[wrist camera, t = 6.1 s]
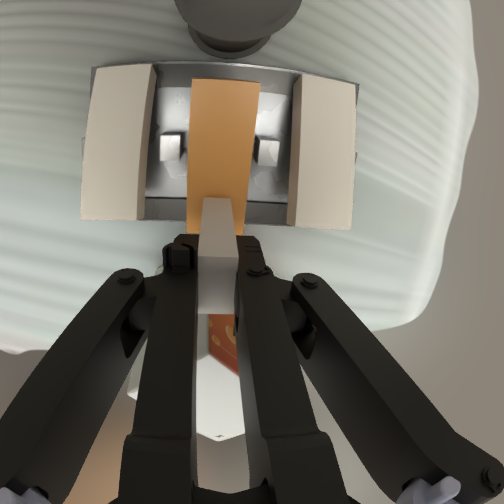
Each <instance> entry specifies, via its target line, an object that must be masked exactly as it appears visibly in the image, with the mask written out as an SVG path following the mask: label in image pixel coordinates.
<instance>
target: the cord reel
mask: <svg viewBox="0 0 504 504" xmlns="http://www.w3.org/2000/svg"><path fill="white" fill-rule="evenodd" d="M301 1H302V0H175V3H176V6H177V8H178V10H179V12H180V14H181V16H182V17H183V19H184V20H185V21H186V22H187V23H188V28H189V32H190V35H191V37H192V39H193V41H194V42H195V43H196V45H197V46H198V47H199V48H200V49H201V50H203V51H204V52H206V53H208V54H210V55H212V56H215V57H218V58H223V59H237V58H242V57H246V56H248V55H251V54H253V53H255V52H256V51H258V50H259V49H260V48H261V47H263V45H264V44H265V43H266V42H267V41H268V40H269V38H270V36H271V35H272V34H273V33H275V32H277V31H278V30H280V29H281V28H283V27H284V26H285V25H286V24H287V23H288V22H289V21H290V20H291V19H292V18H293V17H294V15H295V14H296V13H297V11H298V9H299V7H300V4H301Z"/></svg>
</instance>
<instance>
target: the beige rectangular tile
mask: <svg viewBox="0 0 504 504" xmlns="http://www.w3.org/2000/svg"><path fill="white" fill-rule="evenodd" d="M355 143H356V94H355V85H354V84H350V83H346V82H341V81H337V80H333V79H328V78H323V77H318V76H313V75H308V74H302V75H301V76H300V77H299V78H298V80H297V81H296V82H295V83H294V85H293V110H292V134H291V155H290V173H289V191H288V207H287V222H286V224H289V225H292V226H295V227H308V228H324V229H340V230H351V220H352V207H353V192H354V173H355Z"/></svg>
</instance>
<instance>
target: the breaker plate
mask: <svg viewBox="0 0 504 504" xmlns="http://www.w3.org/2000/svg"><path fill="white" fill-rule="evenodd" d="M136 64H152V66H153V68H154V71H155V73H156V75H157V78H156V85H155V92H154V99H153V107H152V115H151V124H150V133H149V144H148V156H147V169H146V186H145V210H144V218H143V219H140V220H139V221H178V222H187V162H188V137H189V118H190V101H191V87H192V79H193V78H195V77H203V78H224V79H238V80H249V81H257V82H259V83H261V86H260V94H259V102H258V110H257V118H256V126H255V135H254V143H253V151H252V160H251V168H250V177H249V185H248V194H247V203H246V211H245V220H244V224H255V225H275V226H292V225H289V224H286V222H287V207H288V191H289V173H290V155H291V134H292V110H293V85H294V83H295V82H296V81H297V80H298V78H299V77H300V76H301V75H302V74H308V75H313V76H318V77H323V78H328V79H333V80H337V81H341V82H346V83H350V84H354V85H355V94H356V104H357V98H358V91H359V84H357V83H353V82H349V81H345V80H341V79H336V78H332V77H327V76H322V75H317V74H312V73H307V72H301V71H295V70H289V69H282V68H275V67H267V66H259V65H249V64H238V63H224V62H203V61H160V62H138V63H125V64H114V65H105V66H97V67H92V71H91V89H90V101H91V96H92V90H93V85H94V80H95V75H96V70H97V68H103V67H112V66H123V65H136ZM84 146H85V137H84V138H82V154H83V157H84ZM356 157H357V152H355V162H356ZM293 227H295V226H293Z"/></svg>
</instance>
